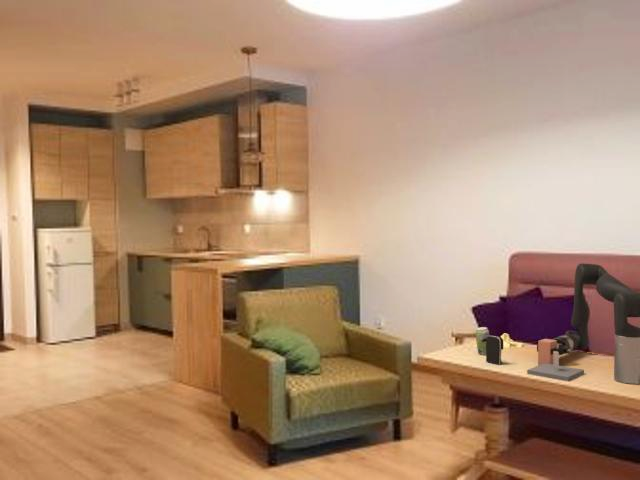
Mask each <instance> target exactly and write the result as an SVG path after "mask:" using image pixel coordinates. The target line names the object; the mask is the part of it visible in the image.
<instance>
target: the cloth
mask: <svg viewBox="0 0 640 480" xmlns="http://www.w3.org/2000/svg"><path fill="white" fill-rule="evenodd" d="M500 337H501V338H502V339H503V349H506V348H507V349H508V350H509V349H511V347H517V348H523V347H525V344H524V342H516V341H514V339H511V338H510V334H508V333H505V332H504V333H503V334H502V335H500Z"/></svg>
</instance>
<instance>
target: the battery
mask: <svg viewBox="0 0 640 480" xmlns="http://www.w3.org/2000/svg"><path fill="white" fill-rule="evenodd" d="M502 350H504V348H503V339H502V338H501V336H498V335H490V336H488V337H487V338H486V355H485V359H486V360H485V361H486V363H490V364H493V365H501V364H503V361H502Z"/></svg>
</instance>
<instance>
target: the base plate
mask: <svg viewBox="0 0 640 480" xmlns="http://www.w3.org/2000/svg"><path fill="white" fill-rule="evenodd" d="M526 374H528V375H532V376H538V377H542V378H543V377H544V378H548V379H553V380H559V381H564V382H565V381H566V382H569V381H571V380H574V379H576V378H578V377H580V376H582V375H584V374H585V369H581V368H575V367H571V366H564V365H563V366H562V365H559V371H554V370H553V364H547V363H544V364H541V365H537V366H533V367H531V368H529V369H527V370H526Z"/></svg>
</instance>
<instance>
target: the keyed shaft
mask: <svg viewBox="0 0 640 480" xmlns="http://www.w3.org/2000/svg"><path fill="white" fill-rule="evenodd" d="M559 356H560V355H559V353H558V351H553V370H554V371H559V366H560V363H559V362H560V357H559Z"/></svg>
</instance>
